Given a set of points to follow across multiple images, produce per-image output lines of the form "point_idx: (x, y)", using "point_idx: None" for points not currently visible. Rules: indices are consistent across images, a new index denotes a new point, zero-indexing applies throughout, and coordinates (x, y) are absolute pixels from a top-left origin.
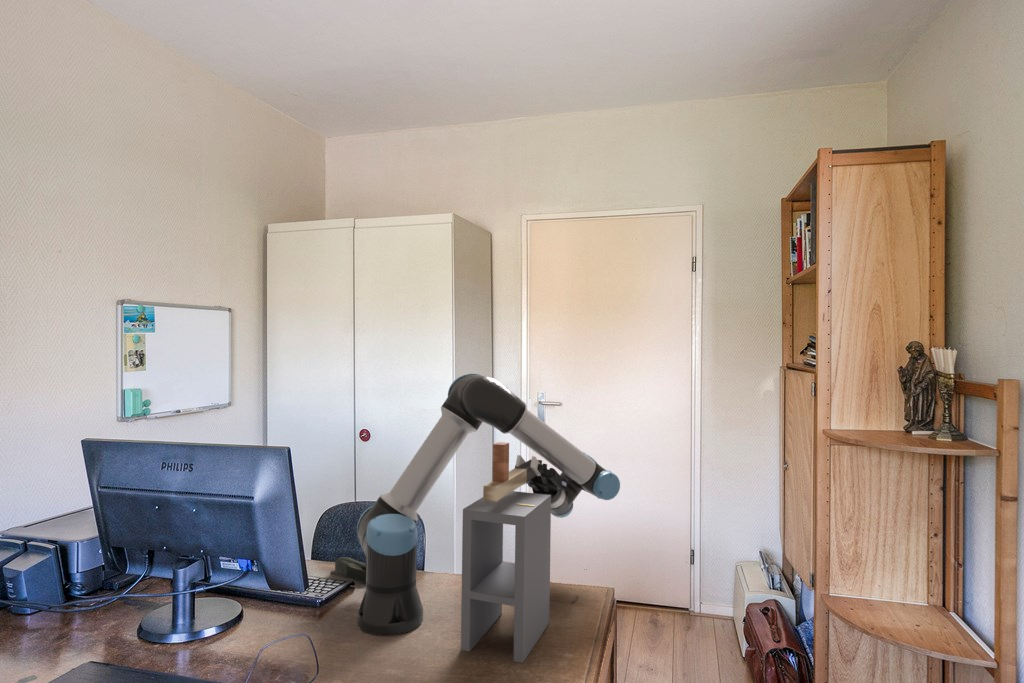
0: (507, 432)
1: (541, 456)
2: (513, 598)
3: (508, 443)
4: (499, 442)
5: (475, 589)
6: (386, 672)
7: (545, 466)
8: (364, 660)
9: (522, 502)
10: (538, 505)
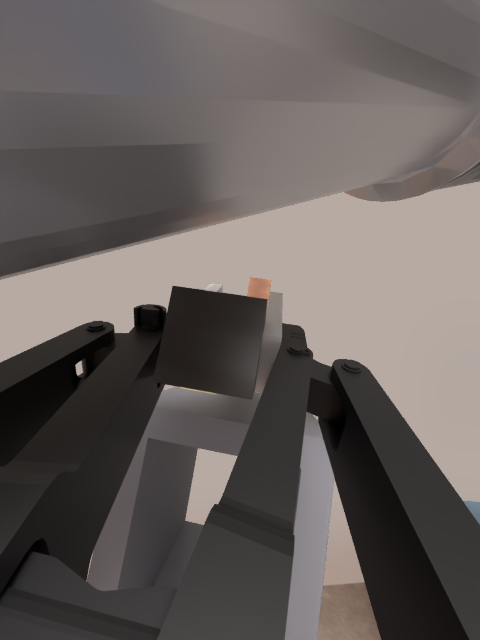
0: (370, 199)
1: (179, 233)
2: (186, 522)
3: (250, 279)
4: (267, 280)
5: None
6: (324, 589)
7: (146, 320)
8: (372, 612)
9: (209, 395)
10: (172, 388)
